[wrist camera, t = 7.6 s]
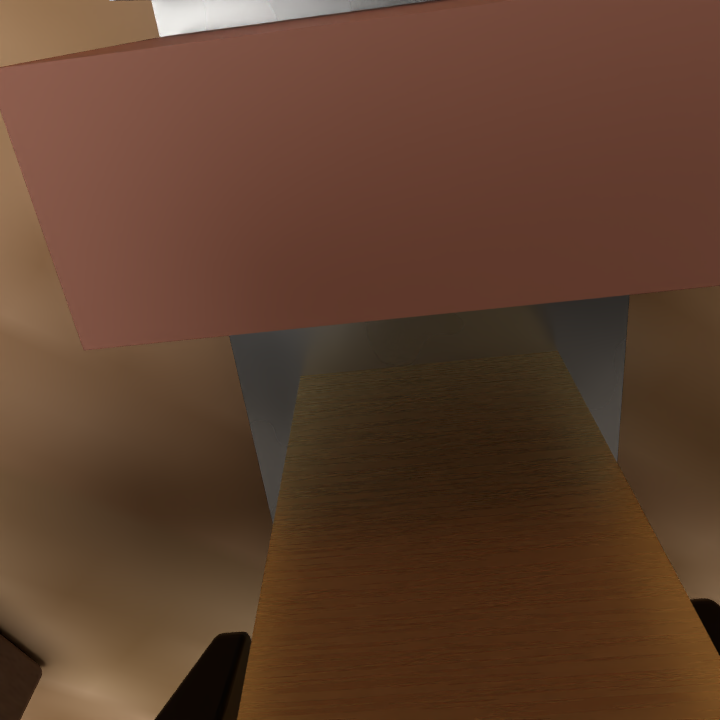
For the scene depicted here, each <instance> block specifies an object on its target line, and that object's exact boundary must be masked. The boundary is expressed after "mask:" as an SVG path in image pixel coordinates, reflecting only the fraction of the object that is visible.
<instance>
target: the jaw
mask: <svg viewBox="0 0 720 720" xmlns="http://www.w3.org/2000/svg"><path fill="white" fill-rule="evenodd" d="M0 111H1V114H2V117H3V119H4V122H5V125H6V128H7V131H8V134H9V137H10V140H11V142H12V145H13V148H14V151H15V154H16V157H17V160H18V163H19V165H20V168H21V171H22V174H23V177H24V180H25V183H26V186H27V188H28V191H29V194H30V197H31V200H32V203H33V206H34V209H35V211H36V214H37V217H38V220H39V223H40V226H41V229H42V232H43V234H44V237H45V240H46V243H47V246H48V249H49V252H50V255H51V257H52V260H53V263H54V266H55V269H56V272H57V275H58V278H59V280H60V283H61V286H62V289H63V292H64V295H65V298H66V301H67V303H68V306H69V309H70V312H71V315H72V318H73V321H74V324H75V326H76V329H77V332H78V335H79V338H80V341H81V344H82V347H83V350H92V349H102V348H111V347H121V346H131V345H141V344H151V343H161V342H170V341H180V340H190V339H200V338H210V337H220V336H229V335H239V334H249V333H259V332H269V331H278V330H288V329H298V328H308V327H318V326H328V325H337V324H347V323H357V322H367V321H377V320H387V319H396V318H406V317H416V316H426V315H436V314H446V313H455V312H465V311H475V310H485V309H495V308H505V307H514V306H524V305H534V304H544V303H554V302H564V301H573V300H583V299H593V298H603V297H613V296H623V295H632V294H642V293H652V292H662V291H672V290H682V289H691V288H701V287H711V286H720V0H433V1H425V2H418V3H410V4H403V5H395V6H388V7H380V8H373V9H365V10H358V11H350V12H343V13H335V14H328V15H320V16H312V17H305V18H297V19H290V20H282V21H275V22H267V23H260V24H252V25H245V26H237V27H230V28H222V29H215V30H207V31H200V32H192V33H185V34H177V35H170V36H164V37H159V38H153V39H148V40H143V41H137V42H132V43H127V44H121V45H116V46H111V47H105V48H100V49H95V50H89V51H84V52H79V53H73V54H68V55H63V56H57V57H52V58H47V59H41V60H36V61H31V62H25V63H20V64H15V65H9V66H4V67H0Z"/></svg>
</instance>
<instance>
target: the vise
mask: <svg viewBox="0 0 720 720" xmlns="http://www.w3.org/2000/svg"><path fill="white" fill-rule="evenodd" d="M109 1H132V0H109ZM151 1H152V5H153V9H154V14H155V18H156V22H157V27H158V31H159V35H160V37H164V36H170V35H177V34H185V33H192V32H200V31H207V30H215V29H222V28H230V27H237V26H245V25H252V24H260V23H267V22H275V21H282V20H290V19H297V18H305V17H312V16H320V15H328V14H335V13H343V12H350V11H358V10H365V9H373V8H380V7H388V6H395V5H403V4H410V3H418V2H425V1H433V0H151ZM628 308H629V295H623V296H613V297H603V298H593V299H583V300H573V301H564V302H554V303H544V304H534V305H524V306H514V307H505V308H495V309H485V310H475V311H465V312H455V313H446V314H436V315H426V316H416V317H406V318H396V319H387V320H377V321H367V322H357V323H347V324H337V325H328V326H318V327H308V328H298V329H288V330H278V331H269V332H259V333H249V334H239V335H229V337H230V341H231V346H232V350H233V354H234V359H235V363H236V367H237V371H238V376H239V380H240V384H241V389H242V393H243V397H244V402H245V406H246V410H247V415H248V419H249V423H250V427H251V432H252V436H253V440H254V445H255V449H256V453H257V458H258V462H259V466H260V471H261V475H262V479H263V483H264V488H265V492H266V496H267V501H268V505H269V509H270V514H271V518H272V522H273V523H274V517H275V512H276V506H277V501H278V496H279V490H280V485H281V479H282V474H283V469H284V463H285V458H286V452H287V447H288V442H289V436H290V431H291V425H292V420H293V415H294V409H295V404H296V398H297V393H298V387H299V382H300V377H301V376H305V375H315V374H326V373H336V372H346V371H356V370H367V369H377V368H387V367H397V366H408V365H418V364H428V363H438V362H449V361H459V360H469V359H479V358H490V357H500V356H510V355H520V354H531V353H541V352H551V351H558V352H559V354H560V356H561V358H562V360H563V362H564V364H565V365H566V367H567V369H568V371H569V373H570V375H571V377H572V379H573V380H574V382H575V384H576V386H577V388H578V390H579V392H580V394H581V396H582V397H583V399H584V401H585V403H586V405H587V407H588V409H589V411H590V413H591V414H592V416H593V418H594V420H595V422H596V424H597V426H598V428H599V430H600V431H601V433H602V435H603V437H604V439H605V441H606V443H607V445H608V446H609V448H610V450H611V452H612V454H613V456H614V458H615V460H616V462H617V458H618V445H619V431H620V417H621V404H622V390H623V376H624V363H625V349H626V335H627V322H628Z"/></svg>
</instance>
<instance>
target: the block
mask: <svg viewBox="0 0 720 720" xmlns="http://www.w3.org/2000/svg"><path fill="white" fill-rule="evenodd" d="M237 720H720V656H719V654H718V652H717V650H716V648H715V646H714V645H713V643H712V641H711V639H710V637H709V635H708V633H707V631H706V629H705V628H704V626H703V624H702V622H701V620H700V618H699V616H698V614H697V612H696V611H695V609H694V607H693V605H692V603H691V601H690V599H689V597H688V595H687V594H686V592H685V590H684V588H683V586H682V584H681V582H680V580H679V579H678V577H677V575H676V573H675V571H674V569H673V567H672V565H671V563H670V562H669V560H668V558H667V556H666V554H665V552H664V550H663V548H662V546H661V545H660V543H659V541H658V539H657V537H656V535H655V533H654V531H653V529H652V528H651V526H650V524H649V522H648V520H647V518H646V516H645V514H644V513H643V511H642V509H641V507H640V505H639V503H638V501H637V499H636V497H635V496H634V494H633V492H632V490H631V488H630V486H629V484H628V482H627V480H626V479H625V477H624V475H623V473H622V471H621V469H620V467H619V465H618V463H617V462H616V460H615V458H614V456H613V454H612V452H611V450H610V448H609V446H608V445H607V443H606V441H605V439H604V437H603V435H602V433H601V431H600V430H599V428H598V426H597V424H596V422H595V420H594V418H593V416H592V414H591V413H590V411H589V409H588V407H587V405H586V403H585V401H584V399H583V397H582V396H581V394H580V392H579V390H578V388H577V386H576V384H575V382H574V380H573V379H572V377H571V375H570V373H569V371H568V369H567V367H566V365H565V364H564V362H563V360H562V358H561V356H560V354H559V352H558V351H551V352H541V353H531V354H520V355H510V356H500V357H490V358H479V359H469V360H459V361H449V362H438V363H428V364H418V365H408V366H397V367H387V368H377V369H367V370H356V371H346V372H336V373H326V374H315V375H305V376H301V377H300V382H299V387H298V393H297V398H296V404H295V409H294V415H293V420H292V425H291V431H290V436H289V442H288V447H287V452H286V458H285V463H284V469H283V474H282V479H281V485H280V490H279V496H278V501H277V506H276V512H275V517H274V523H273V528H272V533H271V539H270V544H269V550H268V555H267V560H266V566H265V571H264V577H263V582H262V587H261V593H260V598H259V604H258V609H257V614H256V620H255V625H254V631H253V636H252V642H251V647H250V652H249V658H248V663H247V669H246V674H245V679H244V685H243V690H242V696H241V701H240V706H239V712H238V717H237Z"/></svg>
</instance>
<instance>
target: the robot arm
mask: <svg viewBox="0 0 720 720" xmlns="http://www.w3.org/2000/svg"><path fill="white" fill-rule="evenodd" d="M690 601H691V603H692V605H693V607H694V609H695V611H696V612H697V614H698V616H699V618H700V620H701V622H702V624H703V626H704V628H705V629H706V631H707V633H708V635H709V637H710V639H711V641H712V643H713V645H714V646H715V648H716V650H717V652H718V654H719V656H720V605H718V604H717V603H716V602H714V601H712V600H710V599H706V598H701V599H690ZM251 642H252V641H251V638H250V636H249V635H248V633H246V632H231V633H222V634H219V635H218V636H216V637H215V638H214V640H213V641H212V642H211V644H210V645H209V646H208V648H207V649H206V650H205V652H204V653H203V654H202V656H201V657H200V659H199V660H198V661H197V663H196V664H195V665H194V667H193V668H192V669H191V671H190V672H189V674H188V675H187V676H186V678H185V679H184V680H183V682H182V683H181V684H180V686H179V687H178V688H177V690H176V691H175V693H174V694H173V695H172V697H171V698H170V699H169V701H168V702H167V703H166V705H165V706H164V708H163V709H162V710H161V712H160V713H159V714H158V716H157V717H156V718H155V720H237V717H238V712H239V706H240V701H241V696H242V690H243V685H244V679H245V674H246V669H247V663H248V658H249V652H250V647H251Z"/></svg>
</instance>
